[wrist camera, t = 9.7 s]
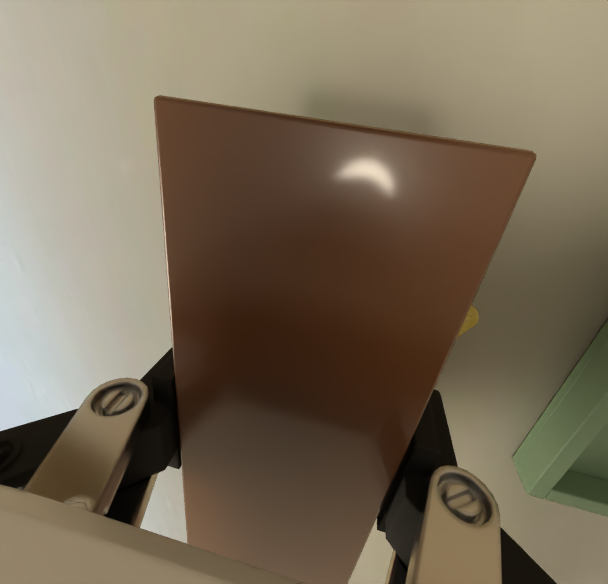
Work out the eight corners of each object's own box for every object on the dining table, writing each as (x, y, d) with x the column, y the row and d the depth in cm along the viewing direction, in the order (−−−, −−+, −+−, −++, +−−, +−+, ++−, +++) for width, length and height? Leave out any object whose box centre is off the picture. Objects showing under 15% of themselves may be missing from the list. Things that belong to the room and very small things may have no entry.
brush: (449, 142, 8) (541, 152, 4) (346, 465, 15) (331, 621, 10) (271, 115, 9) (150, 93, 4) (247, 436, 16) (188, 571, 11)
